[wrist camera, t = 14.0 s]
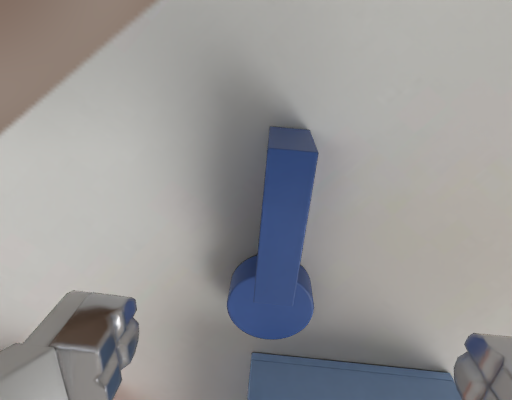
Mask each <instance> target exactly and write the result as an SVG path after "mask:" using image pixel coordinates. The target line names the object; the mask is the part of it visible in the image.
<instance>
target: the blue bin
mask: <svg viewBox="0 0 512 400" xmlns="http://www.w3.org/2000/svg"><path fill="white" fill-rule="evenodd" d="M247 400H462V399H461V397H460V395H459V393H458V391H457V388H456V385H455V382H454V381H453V378H452V376H451V375H450V373H445V372H435V371H425V370H416V369H406V368H397V367H387V366H377V365H368V364H358V363H348V362H339V361H329V360H320V359H310V358H300V357H291V356H281V355H271V354H262V353H252V356H251V366H250V376H249V386H248V396H247Z"/></svg>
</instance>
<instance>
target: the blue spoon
mask: <svg viewBox="0 0 512 400" xmlns="http://www.w3.org/2000/svg"><path fill="white" fill-rule="evenodd" d="M317 159H318V151H317V148H316V145H315V143H314V140H313V138H312V135H311V132H310V130H305V129H294V128H282V127H270V129H269V140H268V150H267V161H266V171H265V182H264V192H263V203H262V214H261V224H260V235H259V245H258V255H257V256H253V257H251V258H249V259H247V260H245V261H244V262H243V263H241V264H240V265H239V266H238V267H237V269H236V270H235V271H234V273H233V276H232V279H231V284H230V289H229V294H228V300H227V309H228V313H229V316H230V318H231V320H232V321H233V322H234V324H235V325H236V326H237V327H238V328H239V329H241V330H242V331H244V332H245V333H247V334H249V335H251V336H254V337H257V338H262V339H282V338H286V337H290V336H292V335H294V334H296V333H298V332H300V331H301V330H302V329H304V328H305V327H306V325H307V324H308V323H309V321H310V319H311V317H312V315H313V310H314V303H313V296H312V289H311V282H310V278H309V276H308V274H307V272H306V270H305V269H304V268H303V267H302V266H301V265H300V261H301V255H302V249H303V243H304V237H305V231H306V225H307V219H308V213H309V207H310V201H311V195H312V189H313V183H314V177H315V171H316V165H317Z"/></svg>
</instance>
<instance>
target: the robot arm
mask: <svg viewBox="0 0 512 400" xmlns="http://www.w3.org/2000/svg"><path fill="white" fill-rule="evenodd" d="M136 311H137V307H136V300H135V299H134V298H132V297H125V296H117V295H109V294H102V293H94V292H93V293H90V292H83V291H75V290H73V291H71V292H69V293H67V294H66V295H65V296H64V297H63V298H62V299H61V301H60V302H59V303H58V304H57V305H56V306H55V307H54V309H53V310H52V311H51V312H50V313H49V314H48V315H47V317H46V318H45V319H44V320H43V321H42V322H41V323H40V324H39V326H38V327H37V328H36V329H35V330H34V331H33V332H32V334H31V335H30V336H29V337H28V338H27V339H26V340H25V342H24V343H23V344H20V343H15V344H13V345H11V346H9V347H8V348H6V349H4V350H2V351H0V400H113V398H114V396H115V394H116V392H117V390H118V388H119V385H120V383H121V381H122V377H121V370H122V369H123V368H124V367H126V366H127V365H128V364H130V362H131V360H132V358H133V356H134V354H135V351H136V347H137V343H138V339H139V323H138V322H137V321H136V320H135V319H134V318H133V316H134V314H135V312H136ZM464 345H465V347H466V349H467V351H468V352H466V353H464V354H463V355H461V356H459V357H458V358H457V361H456V363H455V366H454V381H455V385H456V388H457V391H458V393H459V395H460V397H461V399H462V400H512V337H511V336H500V335H490V334H479V333H473V334H471V335H470V336H468V338H467V340H466V342H465V344H464Z"/></svg>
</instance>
